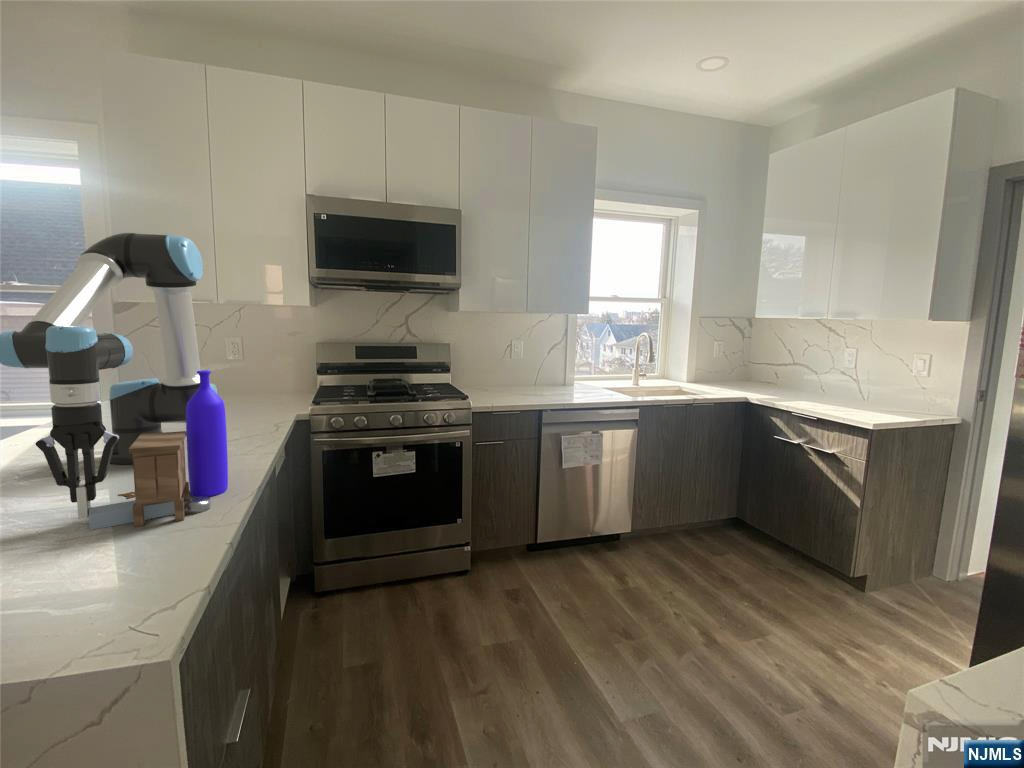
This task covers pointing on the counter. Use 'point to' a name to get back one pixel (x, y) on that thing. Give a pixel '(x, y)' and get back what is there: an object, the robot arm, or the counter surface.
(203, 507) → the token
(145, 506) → the batten
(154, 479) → the cabinet
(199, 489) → the bottle
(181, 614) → the counter surface
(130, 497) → the saw handle
